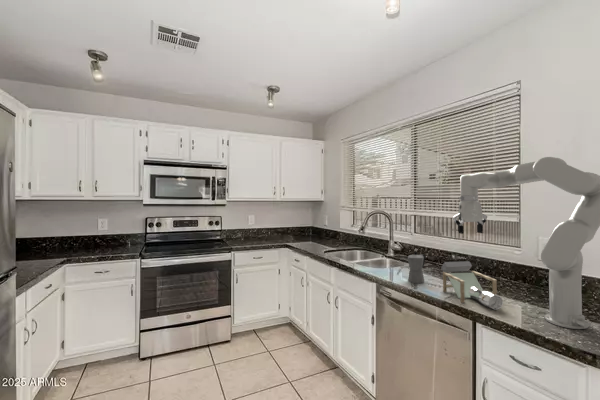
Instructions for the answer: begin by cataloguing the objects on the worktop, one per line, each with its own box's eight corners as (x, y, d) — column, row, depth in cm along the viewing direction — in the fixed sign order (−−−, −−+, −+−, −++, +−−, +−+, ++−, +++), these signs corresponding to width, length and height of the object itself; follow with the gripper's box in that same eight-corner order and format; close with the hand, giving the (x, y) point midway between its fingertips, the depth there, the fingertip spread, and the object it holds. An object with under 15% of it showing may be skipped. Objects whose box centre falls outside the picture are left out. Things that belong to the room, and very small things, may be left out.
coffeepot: (415, 285, 167) (415, 254, 167) (402, 281, 175) (401, 251, 175) (432, 280, 175) (431, 251, 175) (418, 277, 183) (418, 248, 183)
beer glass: (465, 288, 143) (485, 297, 128) (478, 283, 144) (500, 292, 129) (470, 301, 143) (491, 312, 128) (482, 296, 143) (505, 307, 128)
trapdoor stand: (497, 301, 139) (496, 279, 139) (461, 302, 138) (461, 281, 138) (474, 290, 156) (474, 270, 156) (443, 291, 155) (442, 272, 155)
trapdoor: (484, 299, 146) (488, 294, 142) (457, 300, 145) (460, 295, 142) (465, 266, 160) (469, 261, 157) (441, 267, 160) (444, 262, 156)
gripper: (456, 199, 140) (458, 234, 140) (491, 198, 141) (492, 233, 141) (448, 199, 148) (449, 232, 148) (481, 198, 149) (482, 231, 149)
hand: (470, 233), depth 144 cm, fingers open, 9 cm apart
